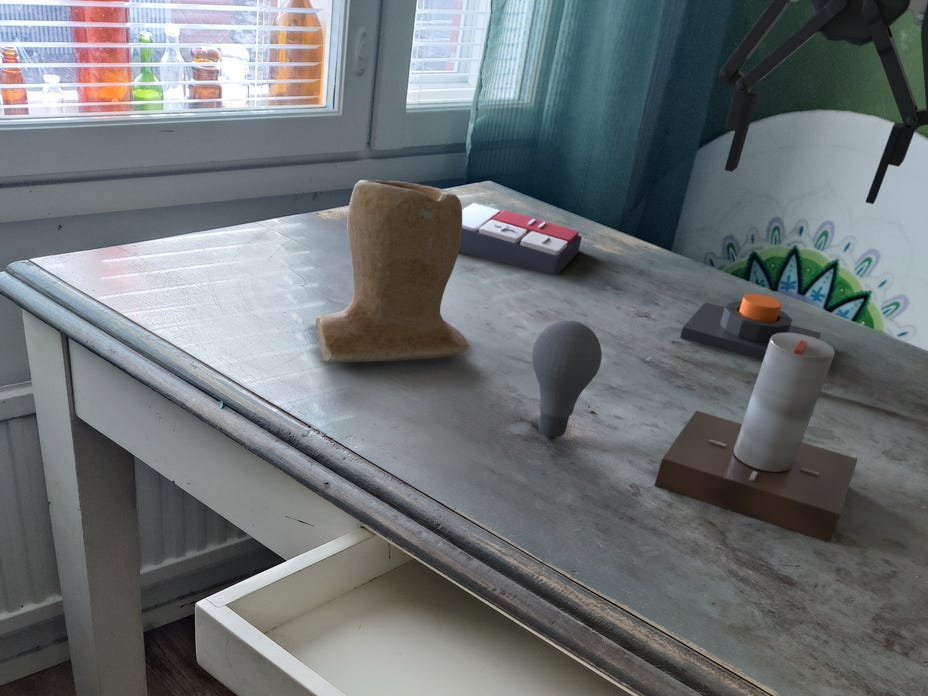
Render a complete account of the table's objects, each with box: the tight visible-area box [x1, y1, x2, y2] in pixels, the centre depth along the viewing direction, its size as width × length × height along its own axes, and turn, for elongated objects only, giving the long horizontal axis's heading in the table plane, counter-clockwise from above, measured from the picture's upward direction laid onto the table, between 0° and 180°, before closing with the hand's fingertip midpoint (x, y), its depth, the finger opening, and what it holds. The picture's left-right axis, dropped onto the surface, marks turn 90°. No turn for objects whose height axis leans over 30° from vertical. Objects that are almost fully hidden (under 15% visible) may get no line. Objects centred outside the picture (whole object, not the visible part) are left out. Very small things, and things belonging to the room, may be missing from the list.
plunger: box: [739, 293, 782, 322], centre depth 103 cm, size 4×4×2 cm
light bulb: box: [531, 319, 603, 440], centre depth 81 cm, size 6×6×10 cm
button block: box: [679, 300, 822, 362], centre depth 105 cm, size 13×10×4 cm
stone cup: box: [315, 179, 470, 363], centre depth 90 cm, size 15×12×15 cm
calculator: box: [458, 203, 582, 275], centre depth 120 cm, size 11×4×15 cm
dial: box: [734, 333, 836, 472], centre depth 77 cm, size 5×5×10 cm
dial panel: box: [654, 410, 858, 543], centre depth 81 cm, size 14×11×3 cm
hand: (799, 184), depth 95 cm, fingers open, 13 cm apart
